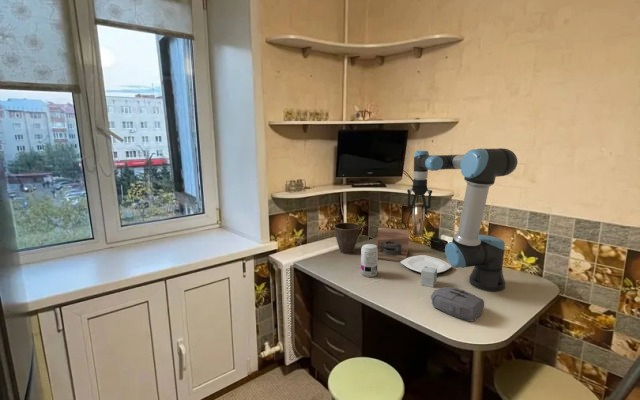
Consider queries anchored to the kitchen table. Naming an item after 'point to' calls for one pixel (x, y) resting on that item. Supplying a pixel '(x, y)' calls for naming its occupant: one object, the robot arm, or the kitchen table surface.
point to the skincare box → (428, 276)
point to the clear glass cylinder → (418, 219)
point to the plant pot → (346, 236)
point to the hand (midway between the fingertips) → (418, 219)
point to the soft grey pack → (458, 303)
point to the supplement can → (369, 260)
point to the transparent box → (392, 244)
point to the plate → (425, 263)
